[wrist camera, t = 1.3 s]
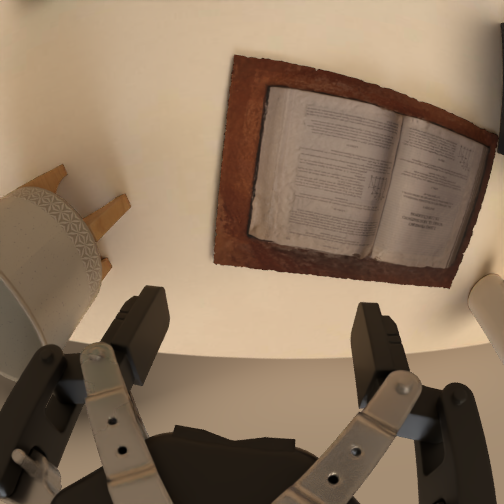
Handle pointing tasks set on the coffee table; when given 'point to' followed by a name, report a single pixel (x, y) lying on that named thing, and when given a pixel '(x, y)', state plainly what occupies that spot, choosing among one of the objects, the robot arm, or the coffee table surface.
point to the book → (345, 178)
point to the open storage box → (503, 138)
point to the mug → (490, 309)
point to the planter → (47, 267)
